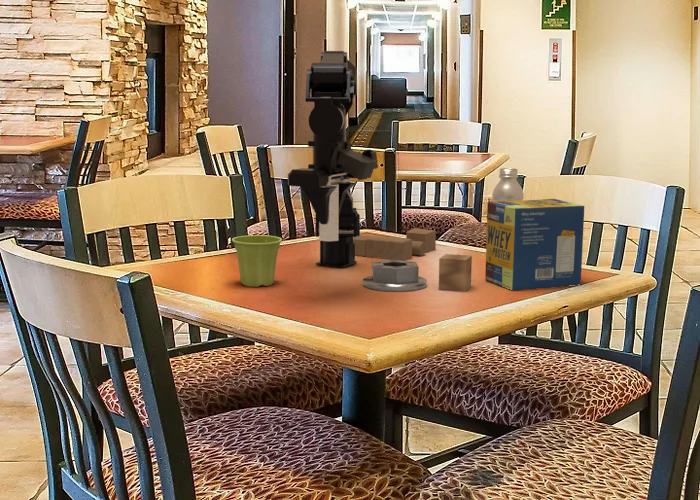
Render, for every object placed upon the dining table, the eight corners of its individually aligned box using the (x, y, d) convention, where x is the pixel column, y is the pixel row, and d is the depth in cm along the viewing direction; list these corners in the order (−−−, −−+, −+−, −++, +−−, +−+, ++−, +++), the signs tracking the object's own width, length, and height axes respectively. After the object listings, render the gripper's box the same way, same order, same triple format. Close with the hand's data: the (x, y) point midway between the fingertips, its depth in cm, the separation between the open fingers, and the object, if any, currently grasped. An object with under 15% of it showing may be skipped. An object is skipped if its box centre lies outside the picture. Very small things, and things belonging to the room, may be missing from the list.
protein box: (483, 281, 192) (486, 201, 190) (552, 276, 198) (555, 198, 195) (511, 291, 183) (514, 207, 180) (582, 285, 188) (586, 204, 186)
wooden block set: (406, 237, 212) (334, 231, 221) (406, 263, 213) (334, 256, 222) (440, 227, 226) (370, 221, 235) (439, 251, 227) (370, 245, 236)
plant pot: (290, 281, 191) (289, 236, 190) (270, 290, 182) (269, 243, 181) (245, 277, 194) (245, 234, 193) (224, 287, 185) (223, 241, 184)
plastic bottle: (486, 260, 214) (489, 167, 211) (517, 260, 215) (520, 167, 212) (493, 265, 208) (496, 170, 205) (525, 265, 209) (528, 170, 205)
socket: (364, 291, 182) (364, 270, 181) (361, 278, 193) (362, 258, 193) (429, 291, 182) (430, 270, 181) (423, 278, 194) (423, 258, 193)
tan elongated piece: (314, 240, 178) (314, 184, 176) (324, 237, 180) (324, 182, 179) (333, 241, 176) (333, 185, 174) (343, 239, 179) (343, 183, 177)
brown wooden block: (438, 290, 183) (439, 258, 182) (444, 285, 188) (445, 254, 187) (465, 292, 182) (466, 260, 181) (471, 287, 187) (471, 255, 186)
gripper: (343, 139, 163) (342, 233, 166) (393, 134, 179) (392, 220, 182) (285, 137, 168) (286, 228, 171) (339, 132, 185) (339, 216, 187)
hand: (328, 222), depth 178 cm, fingers closed on tan elongated piece, 3 cm apart
